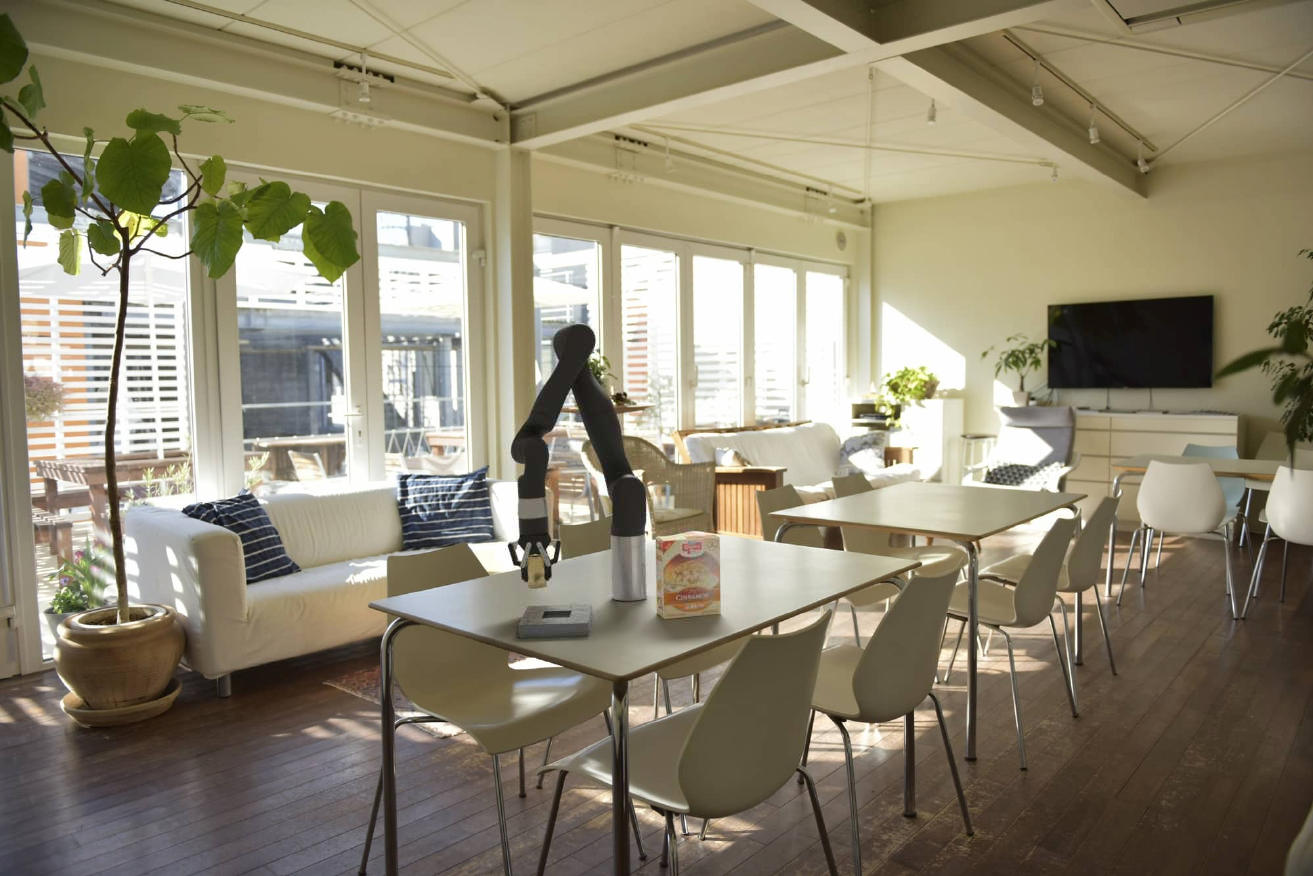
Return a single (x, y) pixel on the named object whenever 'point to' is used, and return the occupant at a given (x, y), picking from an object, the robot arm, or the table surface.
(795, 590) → the table surface
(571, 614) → the block
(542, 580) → the short tan cylinder
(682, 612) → the coffeecake box
